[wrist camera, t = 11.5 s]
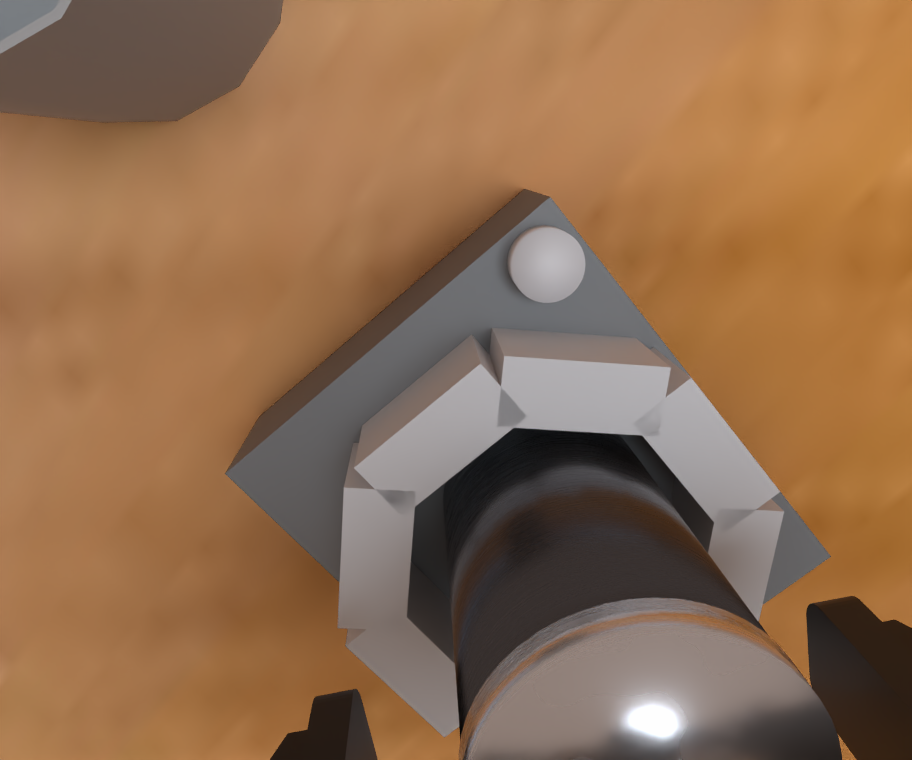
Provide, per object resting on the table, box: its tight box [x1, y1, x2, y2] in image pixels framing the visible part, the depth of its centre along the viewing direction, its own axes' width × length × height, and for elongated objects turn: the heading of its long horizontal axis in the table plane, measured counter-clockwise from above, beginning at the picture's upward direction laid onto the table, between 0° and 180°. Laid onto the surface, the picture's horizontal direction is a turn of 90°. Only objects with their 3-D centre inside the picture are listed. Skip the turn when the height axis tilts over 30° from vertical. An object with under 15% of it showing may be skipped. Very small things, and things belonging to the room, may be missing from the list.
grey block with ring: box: [225, 189, 831, 737], centre depth 19 cm, size 12×10×6 cm
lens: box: [443, 428, 842, 760], centre depth 14 cm, size 5×5×9 cm
